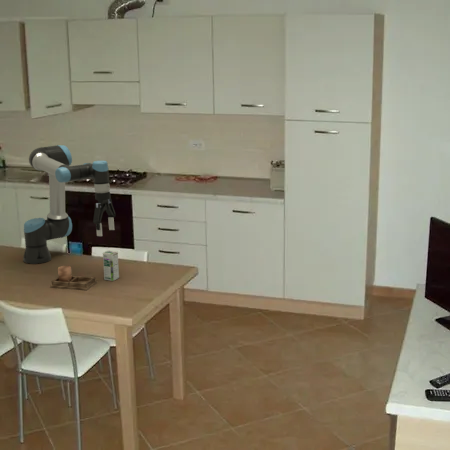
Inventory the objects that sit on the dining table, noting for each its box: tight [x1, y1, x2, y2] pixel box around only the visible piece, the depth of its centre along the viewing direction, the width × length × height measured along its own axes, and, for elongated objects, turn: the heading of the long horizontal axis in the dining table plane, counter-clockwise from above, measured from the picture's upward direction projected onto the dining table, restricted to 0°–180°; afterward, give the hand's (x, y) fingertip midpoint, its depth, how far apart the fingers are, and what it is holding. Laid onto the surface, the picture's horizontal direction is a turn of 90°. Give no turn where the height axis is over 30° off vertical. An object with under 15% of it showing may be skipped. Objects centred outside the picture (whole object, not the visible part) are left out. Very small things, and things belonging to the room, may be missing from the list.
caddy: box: [49, 265, 98, 291], centre depth 350 cm, size 20×12×9 cm, turn 75°
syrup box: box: [102, 250, 120, 282], centre depth 358 cm, size 6×6×14 cm
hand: (105, 232), depth 353 cm, fingers open, 13 cm apart
